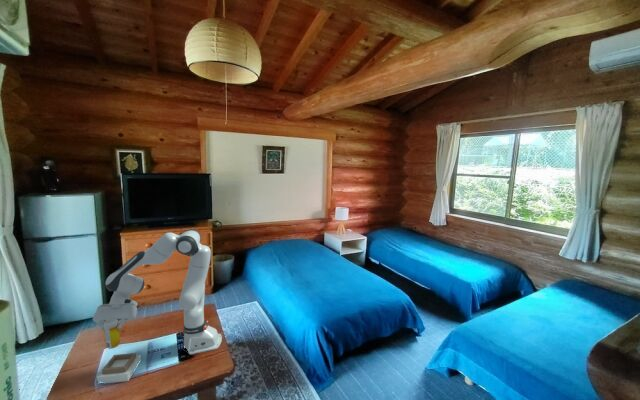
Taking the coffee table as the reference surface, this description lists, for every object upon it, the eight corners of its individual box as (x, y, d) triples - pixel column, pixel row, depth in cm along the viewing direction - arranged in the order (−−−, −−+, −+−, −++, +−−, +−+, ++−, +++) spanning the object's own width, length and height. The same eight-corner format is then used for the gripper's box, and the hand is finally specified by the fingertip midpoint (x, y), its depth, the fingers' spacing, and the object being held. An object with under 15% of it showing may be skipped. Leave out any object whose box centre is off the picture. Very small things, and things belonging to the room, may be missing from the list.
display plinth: (141, 361, 154) (140, 350, 153) (128, 381, 140) (127, 369, 139) (113, 363, 151) (112, 353, 150) (97, 384, 138) (96, 372, 137)
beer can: (123, 342, 150) (120, 316, 148) (114, 349, 144) (111, 323, 142) (111, 342, 150) (109, 316, 148) (103, 349, 144) (100, 323, 142)
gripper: (95, 302, 149) (85, 330, 141) (136, 299, 153) (128, 326, 145) (101, 306, 154) (92, 332, 146) (140, 303, 158) (133, 328, 150)
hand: (110, 329), depth 146 cm, fingers closed on beer can, 6 cm apart
